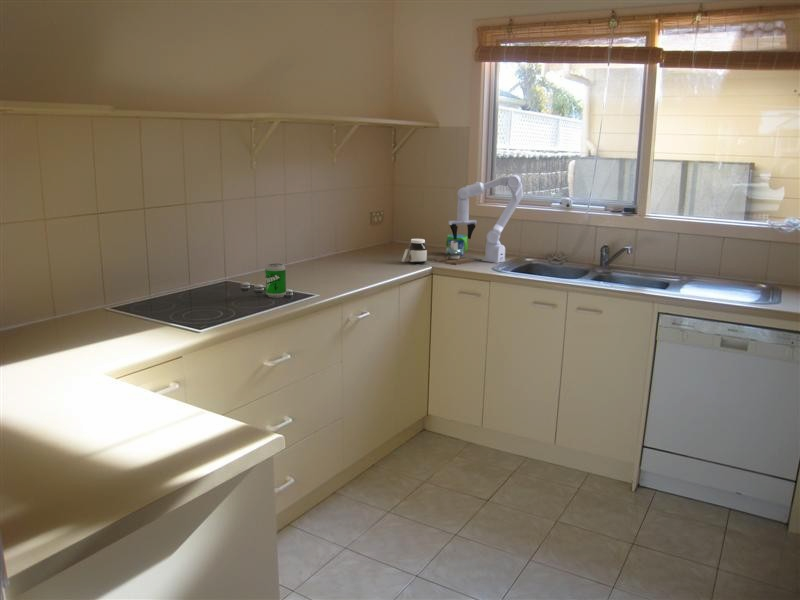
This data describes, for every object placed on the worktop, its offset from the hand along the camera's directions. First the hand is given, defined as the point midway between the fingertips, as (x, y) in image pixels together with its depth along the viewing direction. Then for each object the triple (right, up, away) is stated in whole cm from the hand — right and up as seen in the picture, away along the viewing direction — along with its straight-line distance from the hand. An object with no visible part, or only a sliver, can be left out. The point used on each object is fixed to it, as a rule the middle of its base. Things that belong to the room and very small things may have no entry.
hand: (462, 238), depth 349 cm
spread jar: (-25, -13, -11) cm, 30 cm away
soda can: (-79, -29, -85) cm, 119 cm away
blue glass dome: (-4, -8, -5) cm, 10 cm away
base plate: (-5, -12, -4) cm, 13 cm away
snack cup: (-2, -7, +15) cm, 17 cm away
